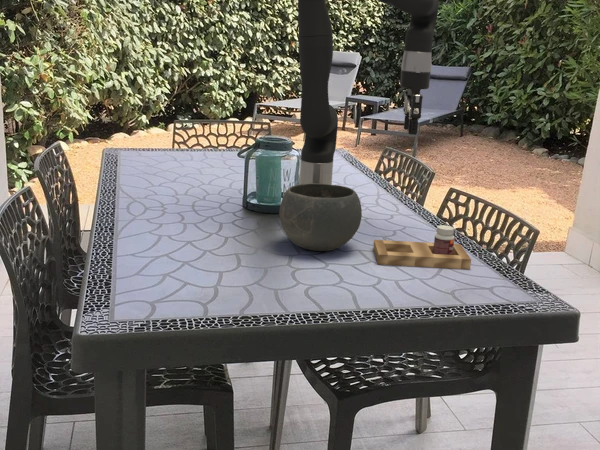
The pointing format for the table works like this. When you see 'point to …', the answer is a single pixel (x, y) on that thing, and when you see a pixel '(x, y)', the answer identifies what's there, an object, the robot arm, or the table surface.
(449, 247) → the pill bottle
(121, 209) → the table surface
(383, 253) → the holder block
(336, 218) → the bowl
